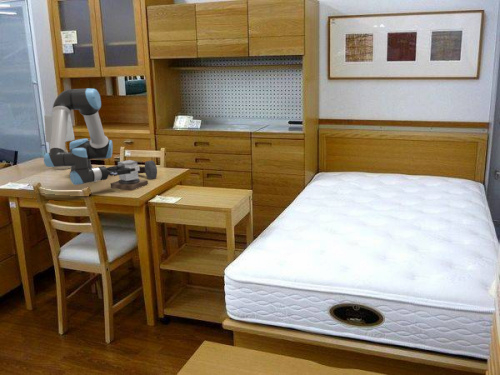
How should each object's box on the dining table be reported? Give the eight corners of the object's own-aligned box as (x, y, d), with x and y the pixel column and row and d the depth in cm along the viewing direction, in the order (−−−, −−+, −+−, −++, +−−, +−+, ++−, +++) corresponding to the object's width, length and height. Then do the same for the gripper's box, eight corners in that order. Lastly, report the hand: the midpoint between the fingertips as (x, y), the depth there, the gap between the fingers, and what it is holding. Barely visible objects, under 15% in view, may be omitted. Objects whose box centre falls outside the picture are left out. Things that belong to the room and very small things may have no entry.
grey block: (126, 180, 283) (124, 163, 280) (119, 178, 289) (117, 161, 286) (138, 178, 288) (137, 161, 286) (131, 176, 294) (130, 159, 291)
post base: (132, 190, 280) (130, 174, 278) (110, 187, 287) (109, 172, 285) (148, 184, 292) (146, 169, 290) (127, 182, 299) (125, 167, 297)
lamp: (74, 170, 336) (67, 115, 326) (45, 171, 334) (38, 116, 325) (80, 164, 354) (75, 112, 344) (54, 165, 352) (47, 113, 343)
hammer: (123, 179, 323) (152, 179, 303) (120, 162, 321) (149, 161, 301) (130, 177, 326) (158, 178, 306) (127, 161, 324) (155, 160, 305)
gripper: (91, 177, 284) (127, 170, 298) (108, 183, 269) (145, 176, 283) (90, 164, 282) (126, 158, 297) (107, 169, 267) (144, 163, 282)
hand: (135, 167), depth 290 cm, fingers closed on grey block, 8 cm apart
